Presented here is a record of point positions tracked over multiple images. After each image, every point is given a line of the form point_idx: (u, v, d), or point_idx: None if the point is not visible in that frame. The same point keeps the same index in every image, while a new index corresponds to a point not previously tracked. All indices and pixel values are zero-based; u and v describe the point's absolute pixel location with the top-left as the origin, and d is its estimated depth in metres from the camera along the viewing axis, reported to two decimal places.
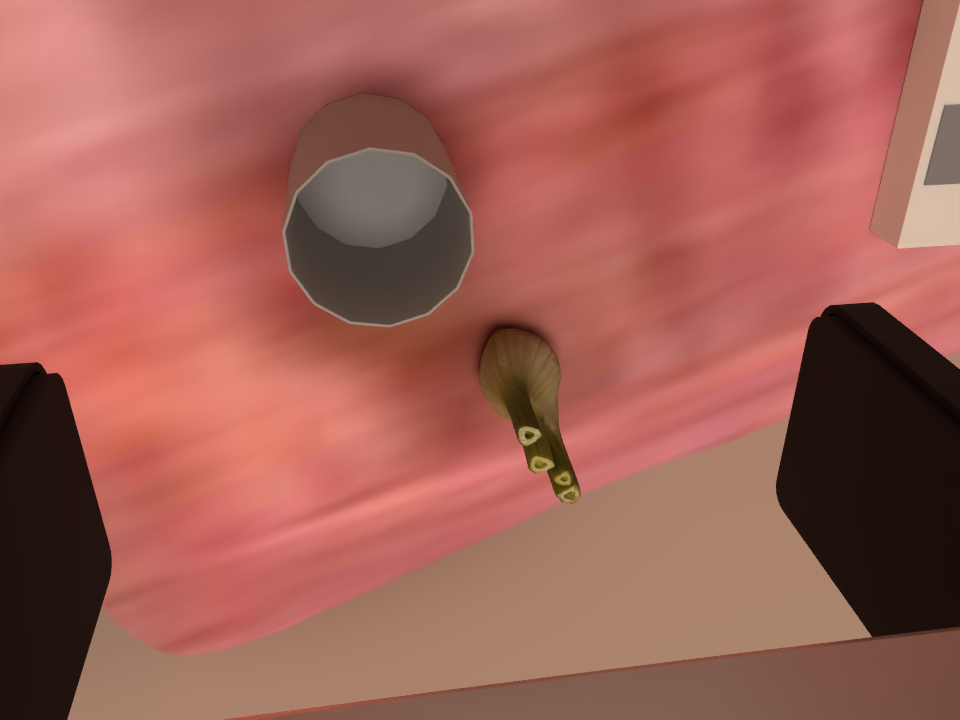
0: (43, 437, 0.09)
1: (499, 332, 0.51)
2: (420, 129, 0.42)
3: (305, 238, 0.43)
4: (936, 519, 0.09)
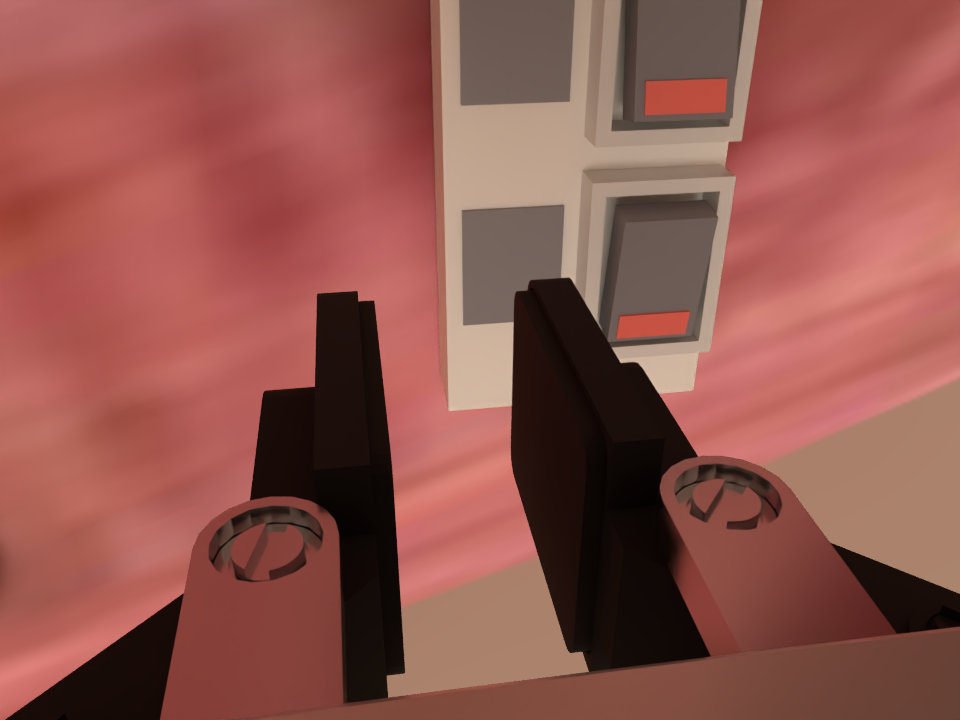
0: None
1: None
2: None
3: None
4: (563, 473, 0.09)
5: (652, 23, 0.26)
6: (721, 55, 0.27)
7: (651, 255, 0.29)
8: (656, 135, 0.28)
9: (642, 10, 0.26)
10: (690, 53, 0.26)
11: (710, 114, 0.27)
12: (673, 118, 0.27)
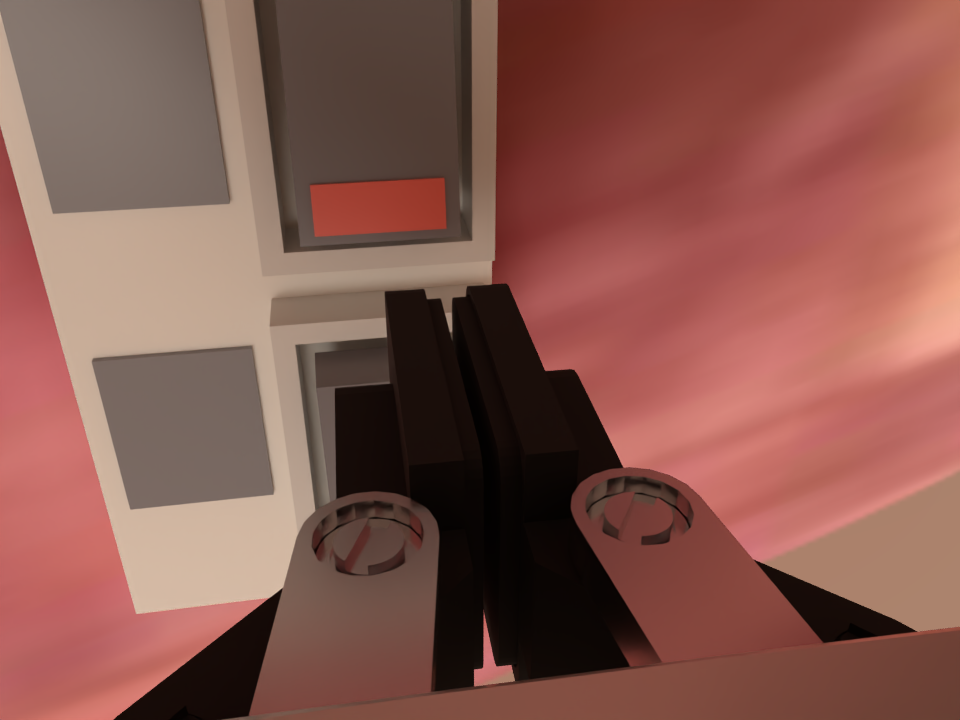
0: None
1: None
2: None
3: None
4: (487, 485, 0.09)
5: (310, 95, 0.16)
6: (432, 142, 0.17)
7: None
8: (358, 256, 0.18)
9: (291, 76, 0.16)
10: (379, 140, 0.17)
11: (424, 232, 0.17)
12: (364, 239, 0.17)
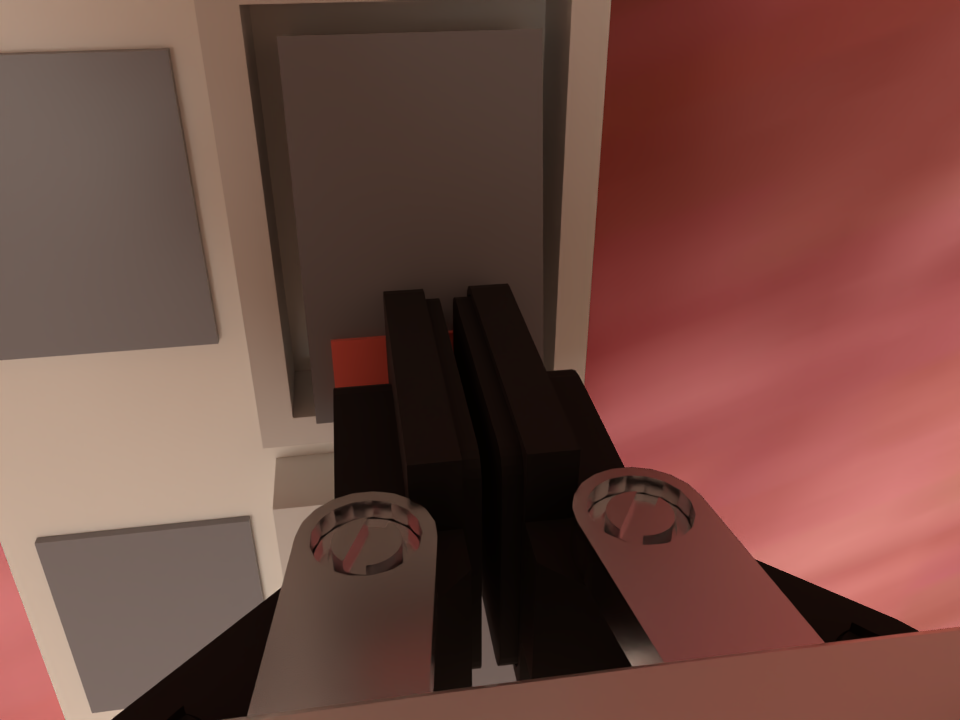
0: None
1: None
2: None
3: None
4: (488, 484, 0.09)
5: (332, 216, 0.11)
6: (506, 278, 0.12)
7: None
8: None
9: (304, 189, 0.11)
10: (432, 276, 0.11)
11: None
12: None
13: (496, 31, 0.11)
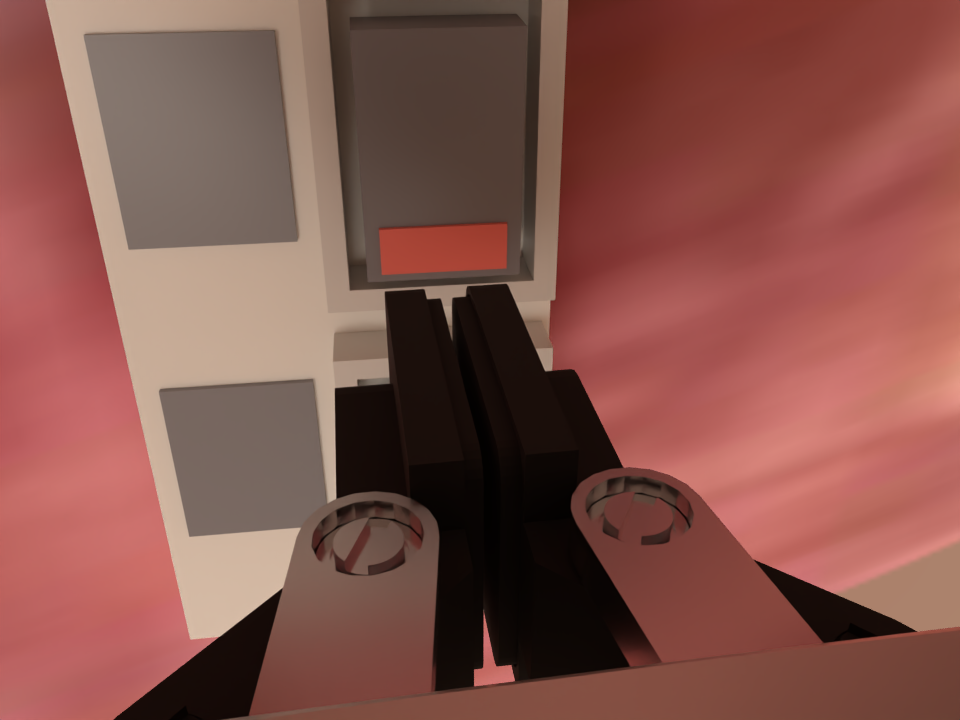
0: None
1: None
2: None
3: None
4: (487, 484, 0.09)
5: (382, 148, 0.17)
6: (497, 191, 0.17)
7: None
8: None
9: (364, 129, 0.16)
10: (447, 188, 0.17)
11: (484, 270, 0.18)
12: (428, 275, 0.18)
13: (496, 27, 0.16)
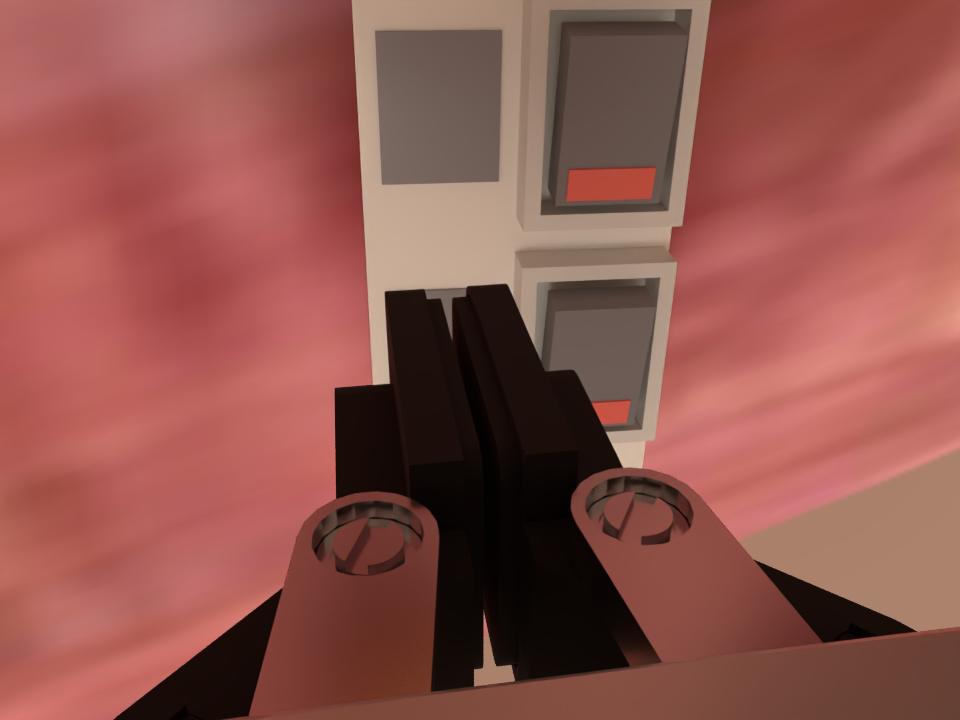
0: None
1: None
2: None
3: None
4: (487, 484, 0.09)
5: (580, 114, 0.24)
6: (652, 145, 0.25)
7: (585, 344, 0.28)
8: (589, 220, 0.26)
9: (570, 102, 0.24)
10: (618, 143, 0.25)
11: (635, 199, 0.26)
12: (596, 202, 0.26)
13: (667, 35, 0.23)
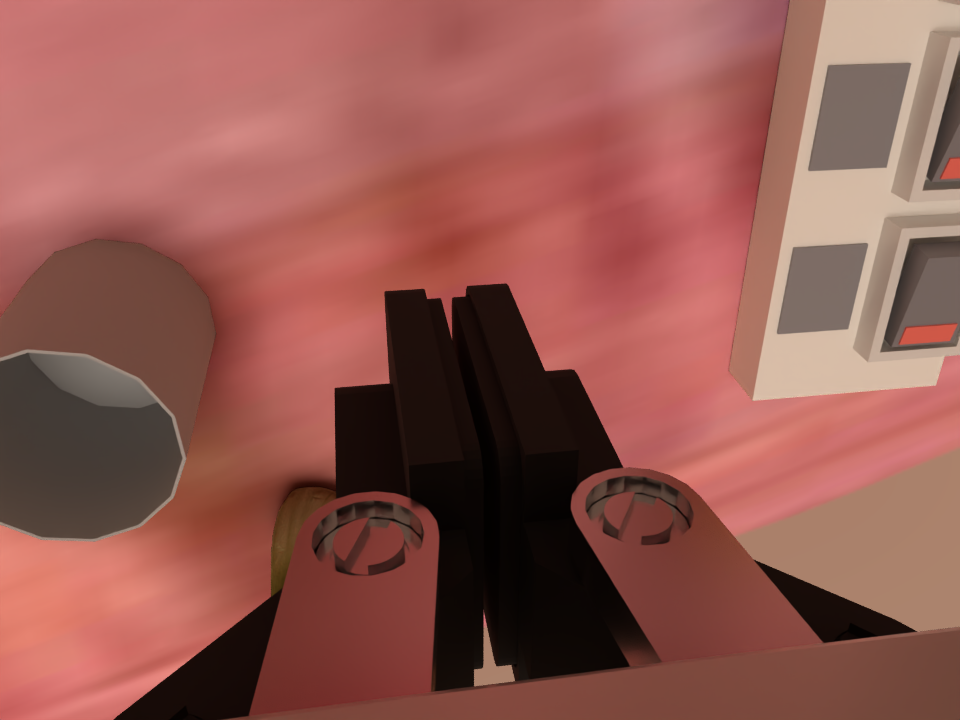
0: None
1: (293, 495, 0.44)
2: (143, 295, 0.35)
3: (19, 417, 0.36)
4: (487, 484, 0.09)
5: None
6: None
7: (940, 282, 0.39)
8: (953, 193, 0.38)
9: None
10: None
11: None
12: (958, 179, 0.38)
13: None
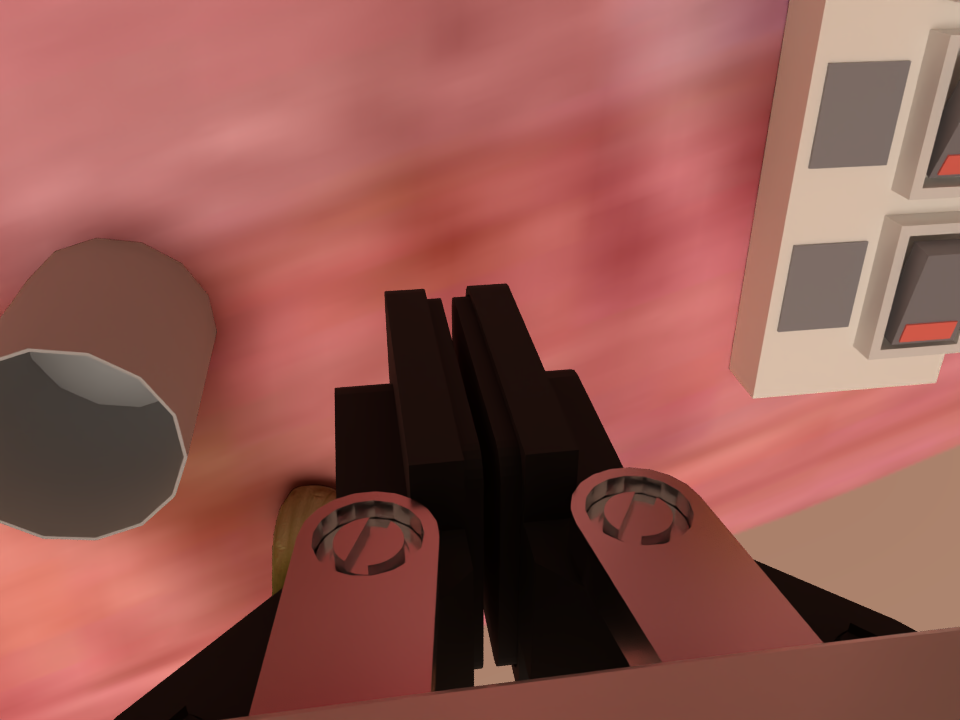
0: None
1: (294, 494, 0.44)
2: (144, 294, 0.35)
3: (20, 416, 0.36)
4: (487, 485, 0.09)
5: None
6: None
7: (940, 280, 0.39)
8: (953, 191, 0.38)
9: None
10: None
11: None
12: (955, 175, 0.38)
13: None
